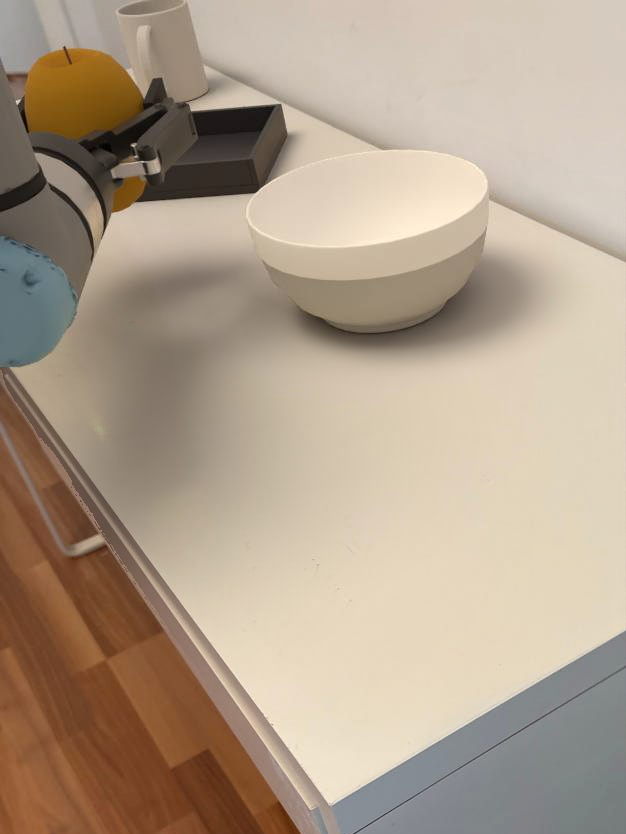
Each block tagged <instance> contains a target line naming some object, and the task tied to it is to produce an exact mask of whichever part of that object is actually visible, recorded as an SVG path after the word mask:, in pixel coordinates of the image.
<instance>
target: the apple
mask: <svg viewBox="0 0 626 834" xmlns="http://www.w3.org/2000/svg"><path fill="white" fill-rule="evenodd" d="M24 95H25V114H26V120H27V126H28V131H29V133H32V132H49V133H54V134H58V135H61V136H64V137H67V138H69V139H72V138H77V139H79V138H81V137H83V136H85V135H86V134H88V133H90V132H92V131H94V130H96V129H99V130H111V129H113V128H114V127H116V126H118V125H120V124H122V123H123V122H125V121H127V120H129V119H130V118H132V117H134V116H136V115H137V114H139V113H141V112H143V111H144V107H143V104H142V103H143V101H144V98H143V96H142V94H141V92H140V90H139V88H138V86H137V83H136V81H134V79H133V78H132V76H131V75H130V74H129V72H128V71H127V69H125V68H124V67H123V66H122V65H121V64H120V63H119V62H118V61H117V60H116V59H115V58H113V56H111V54H108V53H106V52H103V51H100V50H97V49H89V48H82V47H81V48H80V47H79V48H77V47H76V48H75V47H74V48H70V47H69V48H67V47H66V45H64V46H62V49H57V50H55V51H52V52H49V53H46V54H44V55H42V56H41V57H38V58H37V60H36V61H35V62H34V64H33V65H32V66H31V68H30V70H29V71H28V74H27V78H26V83H25V86H24ZM97 147H98V146H97ZM145 184H146V180H145V181H142V180H141V179H140V176H135V177H129V178H125V182H124V184H123V186H122V187H120V188H119V189H117V190H116V191H115V192H114V199H113V209H112V214H113V213H114V214H115V213H119V212H122V211H124V210H126V209H128V208H130V207H131V206H132V205H133V204H134V203H136V202H135V201H136V200H137V199H138V198H139V197H140V196H141V195H142V193H143V191H144V187H145Z"/></svg>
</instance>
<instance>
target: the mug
mask: <svg viewBox="0 0 626 834" xmlns="http://www.w3.org/2000/svg"><path fill="white" fill-rule="evenodd" d="M115 17H116V20H117V24H118V28H119V30H120V33H121V37H122V40H123V43H124V47H125V50H126V54H127V57H128V60H129V63H130V66H131V70H132V73H133V76H134V80H135V84H136V85H137V86H138V88H139V90H140V92H141V94H142V96H143V98H144V99H145V96H146V94H147V91H148V89H149V86H150V84H151V82H152V79H153V78H161V77H162V79H163V83H164V86H165V90H166V94H167V97H168V98H169V97H172V98H173V99H174V103H175V105H177V104H178V103H187V102H190V101H193V100H195V99H198V98H200V97H202V96H204V94H206V93H208V91H209V89H210V86H209V82H208V79H207V75H206V74H207V73H206V70H205V67H204V63H203V58H202V56H201V52H200V47H199V43H198V39H197V35H196V32H195V27H194V23H193V20H192V16H191V12H190V8H189V4H188V1H187V0H135V1H132V2H129V3H126V4H123V5H121V6H119V7H118V8H117V9H116V10H115Z"/></svg>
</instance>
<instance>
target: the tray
mask: <svg viewBox="0 0 626 834" xmlns="http://www.w3.org/2000/svg"><path fill="white" fill-rule="evenodd" d="M191 113H192V117H193V121H194V124H195V128H196V132H197V136H198V139H197V140H196V141H195V142H194V144H193V145H192V146H191V147H190V148H189V149H188V150H187V151H186V152H185V153H184V154H183V155H182V156H181V157H180V158H179V159H178V160H177V161H176V162H175V163H174V164H173V165H172V166H171V167H170V168H169V169H168V170H167V171H166V172H165V176H164V182H163V183H162V184H160V185H158V186H149V185H148V184H147V181H146V184H145V187H144V191H143V193H142V195H141V196H140V197H139V198H138V199H137V200H136V201H135V202H134V203H136V202H137V203H138V202H148V201H149V202H151V201H163V200H175V199H177V200H178V199H189V198H197V197H198V198H201V197H214V196H228V195H240V194H252V193H253V194H255V193H257V192H258V191H259V190H260V189H261V188H262V187H264V186H265V185H266V181H267V179H268V178H269V175H270V173H271V171H272V168H273V167H274V164H275V162H276V160H277V158H278V156H279V154H280V151H281V149H282V147H283V145H284V143H285V141H286V138H287V137H288V130H287V129H288V128H287V123H286V119H285V114H284V109H283V105H282V103H272V104H261V105H248V106H236V107H235V106H234V107H226V108H225V107H223V108H213V109H212V108H211V109H201V110H191Z"/></svg>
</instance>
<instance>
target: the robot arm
mask: <svg viewBox="0 0 626 834" xmlns="http://www.w3.org/2000/svg"><path fill="white" fill-rule="evenodd" d="M5 69H6V68H5V67H4V63H3V61H2V58H1V57H0V368H22V367H25V366H30V365H33V364H35V363H38V362H40V361H42V360H43V359H45V358H46V357H47V356H49V355H50V354H51V353H52V352H53V351H54V350H55V349H56V348H57V347H58V345H59V343H60V342H61V340H62V338H63V337H64V335H65V333H66V332H67V330H68V329H69V328H70V327H71V326H72V325H73V323H74V321H75V320H76V317H75V316H77V314H78V307H79V303H80V299H81V297H82V293H83V291H84V288H85V285H86V282H87V279H88V276H89V274H90V271H91V268H92V265H93V262H94V260H95V257H96V256H97V253H98V250H99V247H100V245H101V241H102V239H103V238H104V236H105V232H106V230H107V227H108V225H109V222H110V219H111V217H112V214H113V213H112V209H113V199H114V192H115V191H116V190H117V189H119V188H120V187H122V186H123V184H124V182H125V178H129V177H135V176H140V179H141V180H142V181H145V180H146V181H147V184H148V185H149V186H158V185H160V184H162V183H163V182H164V176H165V172H166V171H167V170H168V169H169V168H170V167H171V166H172V165H173V164H174V163H175V162H176V161H177V160H178V159H179V158H180V157H181V156H182V155H183V154H184V153H185V152H186V151H187V150H188V149H189V148H190V147H191V146H192V145H193V144H194V142H195V141H196V140H197V139H198V136H197V132H196V128H195V124H194V121H193V117H192V113H191V111H192V109H191V105H190V104H189V103H187V102H182V103H176V104H175V103H174V99H173V98H172V97H169V98H168V97H167V94H166V90H165V86H164V83H163V79H162V77H161V78H153V79H152V82H151V84H150V86H149V89H148V91H147V94H146V96H145V99H144V101H143V103H142V104H143V107H144V111H143V112H141V113H139V114H137V115H136V116H134V117H132V118H130V119H129V120H127V121H125V122H123V123H122V124H120V125H118V126H116V127H114V128H113V129H111V130H99V129H96V130H94V131H92V132H90V133H88V134H86V135H85V136H83V137H81V138H79V139H77V138H72V139H69V138H67V137H64V136H61V135H58V134H54V133H49V132H32V133H29V131H28V126H27V120H26V114H25V94H24V95H23V96H22V97H21V99H20V100H19V102H18V103H17V100H16V98H15V95H14V93H13V89H12V87H11V83H10V81H9V78H8V75H7V73H6V70H5ZM97 146H98V147H97Z"/></svg>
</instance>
